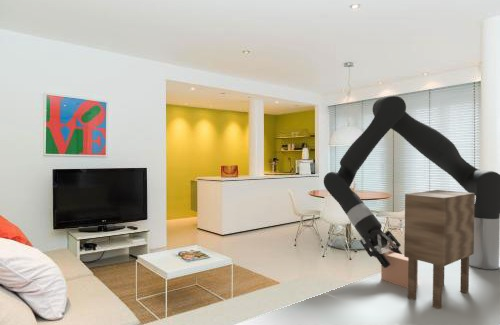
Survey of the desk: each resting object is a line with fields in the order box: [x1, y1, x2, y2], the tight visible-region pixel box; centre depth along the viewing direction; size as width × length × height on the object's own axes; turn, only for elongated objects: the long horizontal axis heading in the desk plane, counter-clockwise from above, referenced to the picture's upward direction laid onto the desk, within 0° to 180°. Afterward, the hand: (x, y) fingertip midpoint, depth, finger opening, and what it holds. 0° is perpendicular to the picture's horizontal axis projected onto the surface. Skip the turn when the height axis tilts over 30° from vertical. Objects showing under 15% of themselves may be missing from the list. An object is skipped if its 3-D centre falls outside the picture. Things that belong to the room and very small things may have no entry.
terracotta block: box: [380, 250, 419, 289], centre depth 102 cm, size 4×9×8 cm, turn 36°
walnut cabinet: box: [403, 189, 476, 309], centre depth 92 cm, size 18×11×28 cm, turn 126°
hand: (395, 263), depth 102 cm, fingers open, 8 cm apart
